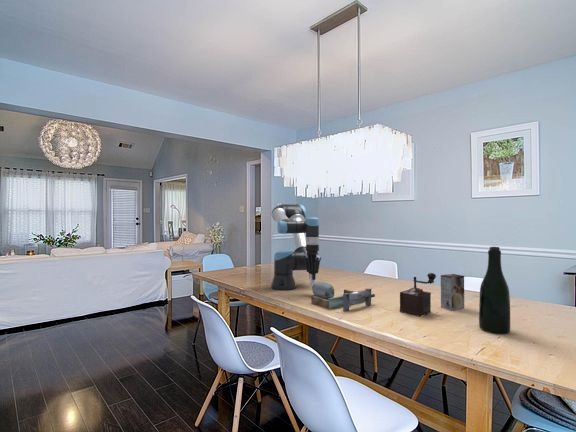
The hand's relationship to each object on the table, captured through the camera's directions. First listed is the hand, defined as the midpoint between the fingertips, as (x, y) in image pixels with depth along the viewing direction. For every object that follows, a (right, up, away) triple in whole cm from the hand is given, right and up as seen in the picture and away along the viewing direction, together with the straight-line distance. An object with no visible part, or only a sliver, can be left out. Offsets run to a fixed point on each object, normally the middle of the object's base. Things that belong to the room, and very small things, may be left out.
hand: (312, 285), depth 185 cm
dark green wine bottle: (+68, -6, -58) cm, 89 cm away
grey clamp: (+22, -5, -26) cm, 34 cm away
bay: (+13, -5, -17) cm, 21 cm away
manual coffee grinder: (+48, -6, -33) cm, 58 cm away
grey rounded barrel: (+5, -6, -7) cm, 10 cm away
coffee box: (+67, -6, -28) cm, 72 cm away
